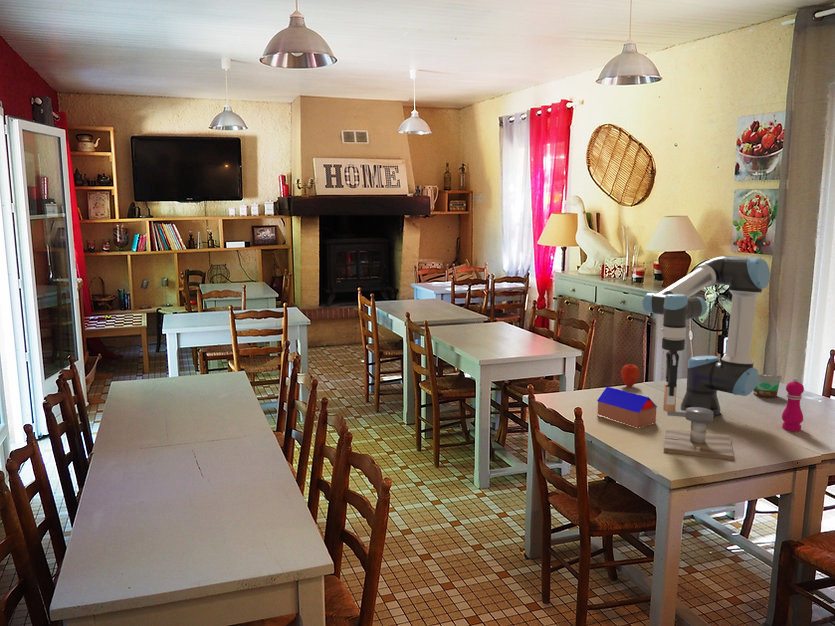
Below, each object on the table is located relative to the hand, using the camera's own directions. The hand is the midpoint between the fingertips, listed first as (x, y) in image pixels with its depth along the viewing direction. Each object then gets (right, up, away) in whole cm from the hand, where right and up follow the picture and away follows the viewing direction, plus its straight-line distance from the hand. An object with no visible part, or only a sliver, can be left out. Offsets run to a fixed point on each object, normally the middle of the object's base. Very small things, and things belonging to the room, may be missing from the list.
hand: (669, 402), depth 243 cm
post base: (+10, -15, 0) cm, 18 cm away
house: (-7, -11, +29) cm, 32 cm away
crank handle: (+6, -5, -1) cm, 8 cm away
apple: (+10, -3, +78) cm, 78 cm away
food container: (+65, -6, +60) cm, 89 cm away
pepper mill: (+53, -13, +17) cm, 57 cm away
